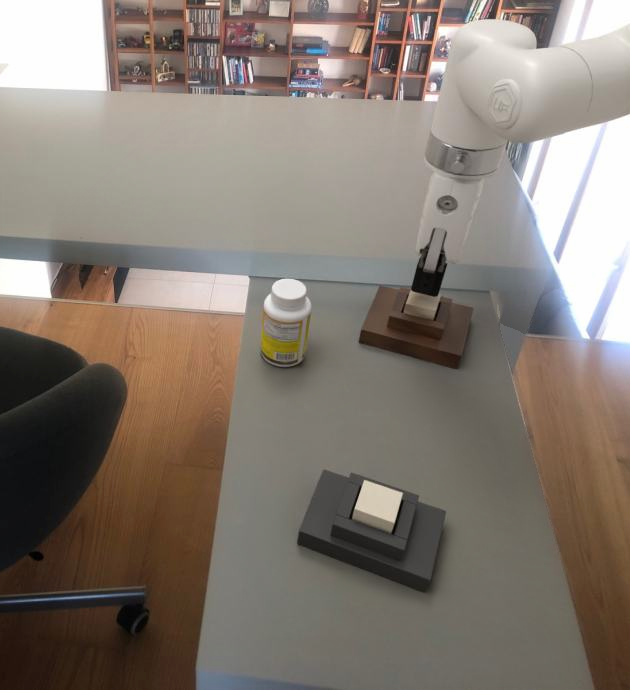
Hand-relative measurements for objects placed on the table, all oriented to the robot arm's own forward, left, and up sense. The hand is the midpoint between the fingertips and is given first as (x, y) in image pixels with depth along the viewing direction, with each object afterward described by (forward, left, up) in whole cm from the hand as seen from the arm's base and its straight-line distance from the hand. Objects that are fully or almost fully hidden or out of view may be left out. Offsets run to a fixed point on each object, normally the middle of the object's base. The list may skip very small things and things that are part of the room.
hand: (425, 290), depth 84 cm
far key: (0, 0, -3) cm, 3 cm away
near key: (-2, +32, -3) cm, 32 cm away
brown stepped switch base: (0, 0, -7) cm, 7 cm away
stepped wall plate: (-2, +32, -7) cm, 33 cm away
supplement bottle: (+14, +11, -7) cm, 19 cm away
